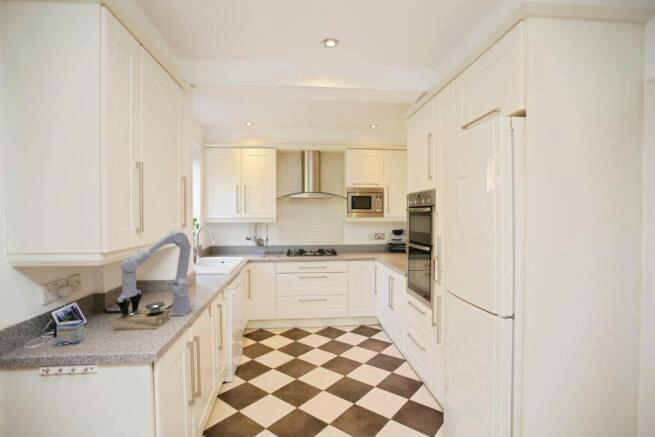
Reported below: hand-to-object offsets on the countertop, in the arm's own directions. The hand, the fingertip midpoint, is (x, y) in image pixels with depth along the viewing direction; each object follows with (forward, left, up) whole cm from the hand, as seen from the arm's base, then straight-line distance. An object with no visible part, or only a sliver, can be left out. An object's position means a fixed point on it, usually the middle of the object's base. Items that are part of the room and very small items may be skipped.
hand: (130, 312), depth 147 cm
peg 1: (0, 0, -5) cm, 5 cm away
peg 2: (0, +12, -1) cm, 12 cm away
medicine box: (+19, -13, -6) cm, 24 cm away
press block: (0, +6, -6) cm, 8 cm away
